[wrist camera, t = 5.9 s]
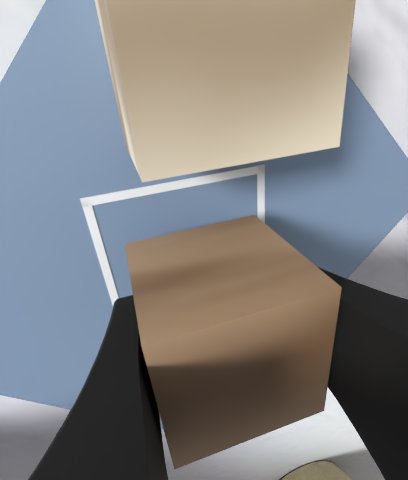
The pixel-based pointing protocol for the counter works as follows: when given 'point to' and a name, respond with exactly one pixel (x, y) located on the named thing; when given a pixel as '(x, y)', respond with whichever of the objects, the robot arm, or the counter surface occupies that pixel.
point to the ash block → (226, 79)
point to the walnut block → (231, 333)
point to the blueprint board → (143, 202)
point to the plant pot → (318, 472)
